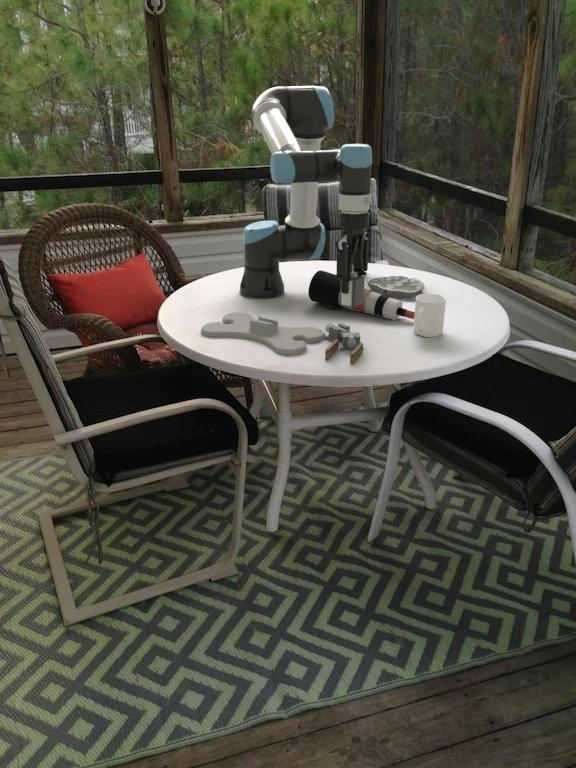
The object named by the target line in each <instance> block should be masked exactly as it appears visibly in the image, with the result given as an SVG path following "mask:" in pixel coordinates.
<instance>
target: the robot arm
mask: <svg viewBox="0 0 576 768" xmlns="http://www.w3.org/2000/svg"><path fill="white" fill-rule="evenodd" d="M332 98H333V97H332V96H331V93H330V91H329V90H328V88H327V87H325V86H317V85H300V86H299V85H295V86H293V85H291V86H275V87H271V88H269V89H267V90H266V91H263V92H262V93H261V94H260V95H259V96H258V97H257V99H256V100H255V101H254V104H253V106H252V110H251V120H252V123H253V125H254V128H255V129H256V131H257V132H258V133H259V134H261V135H262V136H263V138H264V140H265V143H266V144H267V147H268V149H269V151H270V152H271V156H270V159H269V169H270V172H269V173H270V177H271V179H272V180H271V181H273V182H274V183H276V184H286V185H289V184H290V203H289V214H288V215H287V216H286V217H285V218H284V224H281V225H280V224H279V222H278V221H277V220H259V221H255V222H252V223H250V224H248V225H246V226H245V227H244V229H243V233H242V244H243V266H244V268H243V269H244V270H243V274H242V278H241V281H240V284H239V294H240V295H241V296H243V297H245V298H248V299H249V298H250V299H256V300H257V299H259V300H261V299H262V300H266V299H272V298H277V297H280V296H282V295H283V294H284V293H285V283H284V281H283V278H282V275H281V272H280V262H285V261H301V260H305V261H309V260H312V259H313V260H314V259H317V258H319V257H320V256H321V255H322V254H323V251H324V247H325V243H326V229H325V225H324V224H323V223H321V219H320V217H318V216H317V207H318V206H317V204H318V189H319V183H320V182H321V183H322V182H324V183H327V182H339V198H338V210H340V211H339V213H338V227H339V228H341V229H343V230H342V235H341V239H340V240H336V241H335V248H336V274H335V275H336V278H337V279H338V280H341V281H342V290H341V291H342V292H341V304H342V305H347V306H351V305H352V281H351V273H352V266H353V268H354V272H357V275H358V276H362V275H364V277H365V276H367V274H368V272H367V271H368V268H369V266H368V265H369V246H370V239H371V233H370V232H365V230H364V229H368V228H369V226H370V216H371V215H370V212H369V210H370V208H371V207H370V205H371V202H372V201H371V200H372V199H371V186H372V183H371V182H372V166H373V165H372V164H373V155H372V154H373V151H372V146H371V145H369V144H367V143H364V144H363V143H346V144H343V145H342V146H341V147H340V148H337V147H336V148H334V149H327V150H324V149H322V150H321V142H322V140H324V139H325V138H326V137H327V130H330V129H332V128H333V125H334V123H335V112H334V111H335V109H334V102H333V99H332ZM350 250H351V251H350ZM364 271H365V272H364Z"/></svg>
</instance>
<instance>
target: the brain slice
mask: <svg viewBox="0 0 576 768" xmlns="http://www.w3.org/2000/svg"><path fill="white" fill-rule="evenodd" d="M366 284H367V287H368V288H369V289H370V290H372V291H374V292H375V293H378V294H382V295H384V296H387V297H388V296H389V297H390V298H395V297H397V299H403V298H405V299H404V300H406V299H407V300H409V299H412V298H413V297H417V296H418V295H421V293H422V292H423V290H425V289H426V287H425V284H424V282H422V280H421V279H418V278H414V277H411V278H410V277H409V278H408V277H407V276H403V275H396V276H395V275H390V276H382V277H375V278H371V279H369V280H367V282H366Z"/></svg>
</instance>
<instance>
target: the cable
mask: <svg viewBox="0 0 576 768" xmlns="http://www.w3.org/2000/svg"><path fill="white" fill-rule="evenodd" d="M340 282H341V280H338V279H337V278H336V274H335V273H333V272H329V271H325V270H318V271H316V272H315V273H314V275H313V276H312V277H311V279H310V282H309V286H308V297H309V300H310V301H312V302H314V303H317V304H321V305H324V306H327V307H330V308H332V309H336V310H339V311H341V310H342V309H344V308H349V309H351V310H353V311H358V312H362V313H363V314H371V315H374V316H378V317H381V318H385V319H388V320H391V319H392V321H394V320H395V319H396V320H398V319H399V318H398V317H403V318H408V319H412V320H414V316H415V311H412V310H408V309H406V308H403V307H404V306H403V302H402V300H398V299H395V298H393V297H388V296H385V295H382V294H379V293H377V292H374V291H372V290H371V289H367V288H365V287H364V303H362V304H360V305H359V306H357V307H351V306H346V305H341V304H340ZM340 309H341V310H340ZM397 318H398V319H397ZM396 320H395V321H396Z"/></svg>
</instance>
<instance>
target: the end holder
mask: <svg viewBox="0 0 576 768" xmlns="http://www.w3.org/2000/svg"><path fill="white" fill-rule="evenodd" d="M363 348H364V343H363V342H362V343H360V344H359V345H358V346H357V347H356V348H355V349H354V350H352V351H351V353H350V356H349V358H350V359H349V360H350V361H349V365H354V364H355V363H356V362H357V361H358V359H359V358H360V357H361V356H362V355H363V353H364V352H363V351H364V350H363ZM338 350H339V340H337V339H336V340H335V341H334V342H331V343H330V345H329V346H328V347H326V349H325V352H324V353H325V354H324V355H325V356H324V357H325V359H324V360H325V361H329V360H330V359H331V358H332V357H333V356H334V355H335V354H336V353H337V352H338Z"/></svg>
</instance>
